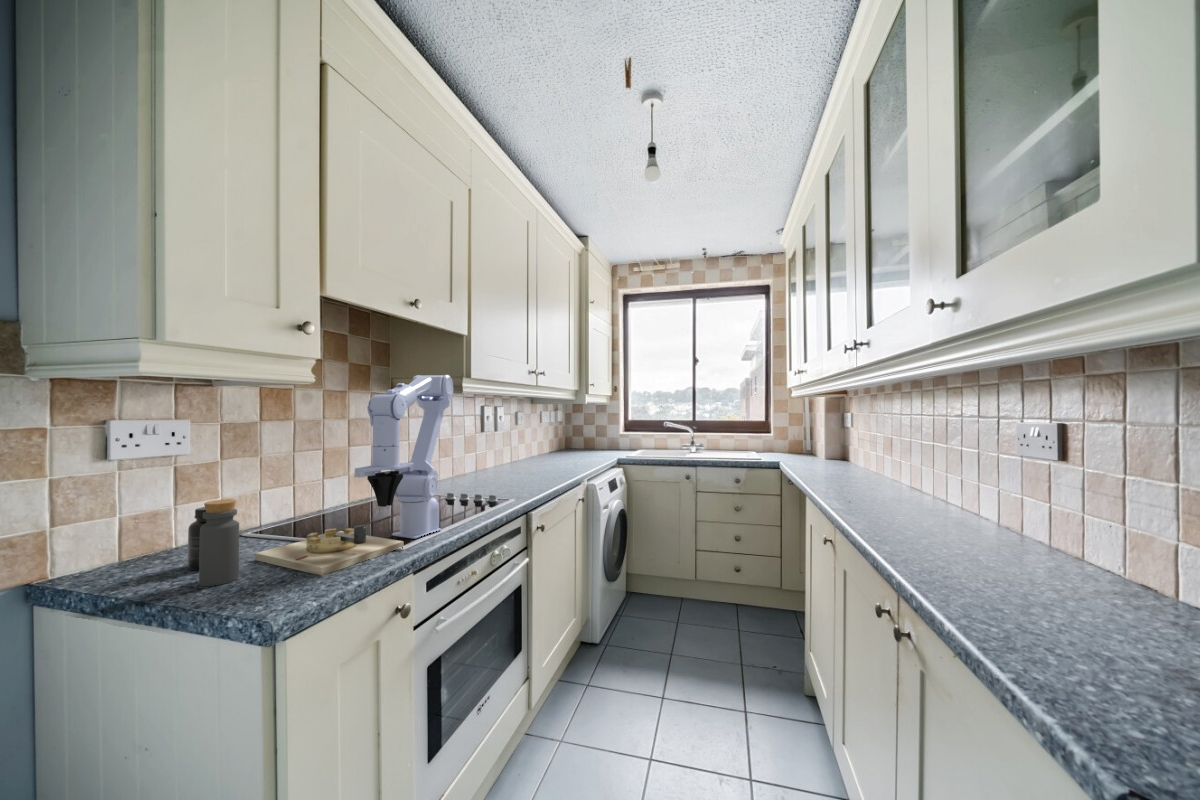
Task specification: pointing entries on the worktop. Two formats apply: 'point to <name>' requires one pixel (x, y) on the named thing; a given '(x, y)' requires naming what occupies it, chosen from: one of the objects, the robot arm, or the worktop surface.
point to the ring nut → (336, 540)
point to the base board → (326, 555)
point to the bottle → (219, 544)
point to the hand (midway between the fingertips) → (384, 505)
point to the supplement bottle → (195, 539)
